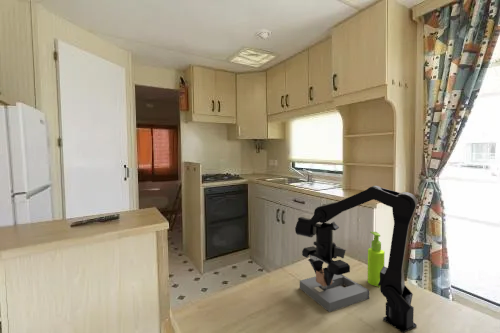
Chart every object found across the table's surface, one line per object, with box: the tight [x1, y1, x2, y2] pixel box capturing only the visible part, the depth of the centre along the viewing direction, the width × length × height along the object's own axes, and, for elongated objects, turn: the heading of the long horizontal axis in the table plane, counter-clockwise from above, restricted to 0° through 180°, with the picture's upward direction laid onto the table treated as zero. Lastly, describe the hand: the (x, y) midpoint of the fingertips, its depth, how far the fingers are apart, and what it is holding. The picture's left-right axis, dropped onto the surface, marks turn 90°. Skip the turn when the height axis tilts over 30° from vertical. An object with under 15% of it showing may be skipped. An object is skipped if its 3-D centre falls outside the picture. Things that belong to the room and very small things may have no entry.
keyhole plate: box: [299, 274, 370, 313], centre depth 90 cm, size 18×16×3 cm
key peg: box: [315, 268, 332, 291], centre depth 88 cm, size 4×4×8 cm
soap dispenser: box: [367, 231, 386, 288], centre depth 97 cm, size 6×7×20 cm
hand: (324, 282), depth 88 cm, fingers closed on key peg, 4 cm apart
